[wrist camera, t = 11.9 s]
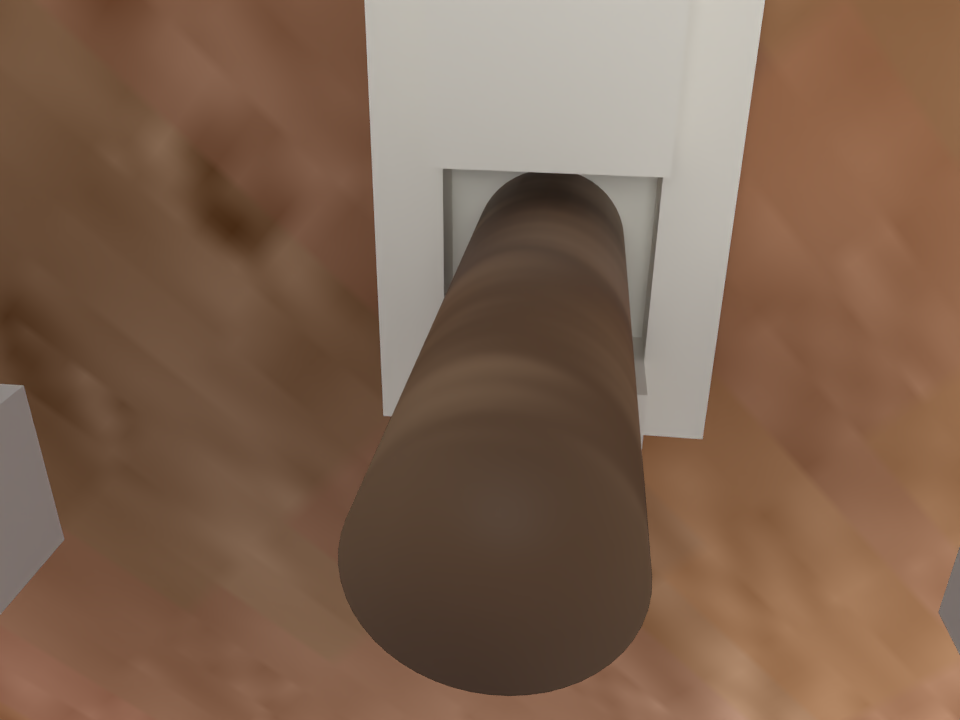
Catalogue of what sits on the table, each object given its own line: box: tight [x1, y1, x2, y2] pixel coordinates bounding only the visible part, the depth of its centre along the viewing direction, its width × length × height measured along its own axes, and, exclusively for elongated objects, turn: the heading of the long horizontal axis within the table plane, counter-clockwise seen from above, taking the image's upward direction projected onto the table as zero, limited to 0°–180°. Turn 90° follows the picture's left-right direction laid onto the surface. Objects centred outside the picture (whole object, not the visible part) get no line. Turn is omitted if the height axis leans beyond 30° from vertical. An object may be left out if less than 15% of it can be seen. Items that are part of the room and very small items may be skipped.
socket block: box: [365, 0, 765, 448], centre depth 20 cm, size 9×20×5 cm, turn 179°
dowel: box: [338, 172, 652, 696], centre depth 17 cm, size 4×4×14 cm
